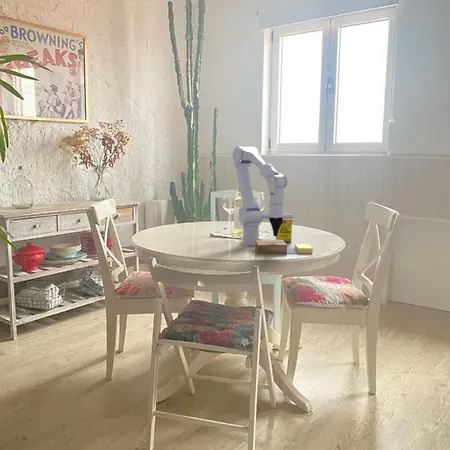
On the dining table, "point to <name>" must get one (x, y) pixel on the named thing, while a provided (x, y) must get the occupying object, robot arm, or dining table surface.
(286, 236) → the supplement box
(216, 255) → the dining table surface
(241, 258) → the dining table surface
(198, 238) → the dining table surface
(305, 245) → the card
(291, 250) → the mat
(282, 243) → the brown wooden block
